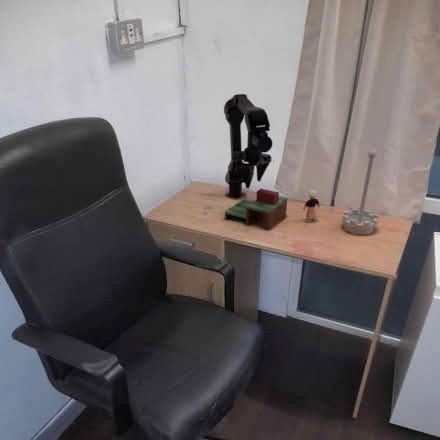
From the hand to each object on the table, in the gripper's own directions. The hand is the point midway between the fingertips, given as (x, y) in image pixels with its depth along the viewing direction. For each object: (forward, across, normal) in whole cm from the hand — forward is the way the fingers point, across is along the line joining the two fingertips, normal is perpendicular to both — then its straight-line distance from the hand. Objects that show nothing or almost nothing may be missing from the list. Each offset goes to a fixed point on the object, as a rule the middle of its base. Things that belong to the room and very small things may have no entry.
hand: (253, 184), depth 168 cm
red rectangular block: (+4, +3, +8) cm, 9 cm away
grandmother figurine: (+13, -6, +23) cm, 27 cm away
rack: (+13, +3, +3) cm, 13 cm away
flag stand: (+12, -9, +42) cm, 45 cm away
